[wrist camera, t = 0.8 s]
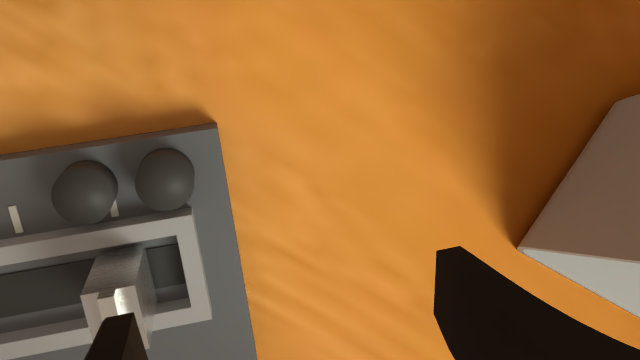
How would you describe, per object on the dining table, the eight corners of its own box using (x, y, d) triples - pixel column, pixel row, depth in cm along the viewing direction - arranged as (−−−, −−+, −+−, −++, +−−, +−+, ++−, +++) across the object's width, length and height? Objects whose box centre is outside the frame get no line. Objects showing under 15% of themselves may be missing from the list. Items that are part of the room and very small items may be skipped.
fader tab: (157, 299, 27) (148, 357, 22) (112, 308, 26) (94, 368, 22) (144, 244, 26) (133, 292, 22) (97, 252, 26) (76, 303, 21)
